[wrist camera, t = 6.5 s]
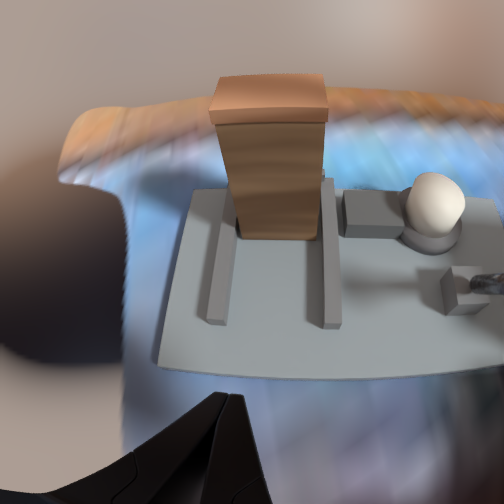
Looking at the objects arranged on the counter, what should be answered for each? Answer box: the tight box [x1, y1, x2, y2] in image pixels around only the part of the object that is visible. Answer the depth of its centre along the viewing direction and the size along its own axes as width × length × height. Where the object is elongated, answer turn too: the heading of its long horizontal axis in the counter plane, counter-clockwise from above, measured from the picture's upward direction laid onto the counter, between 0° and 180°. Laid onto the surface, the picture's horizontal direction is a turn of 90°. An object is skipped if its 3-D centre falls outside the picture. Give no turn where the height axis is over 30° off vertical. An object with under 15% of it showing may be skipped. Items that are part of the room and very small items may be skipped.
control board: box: [157, 169, 504, 381], centre depth 19 cm, size 14×26×4 cm, turn 85°
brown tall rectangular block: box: [209, 74, 328, 241], centre depth 18 cm, size 3×5×11 cm, turn 85°
